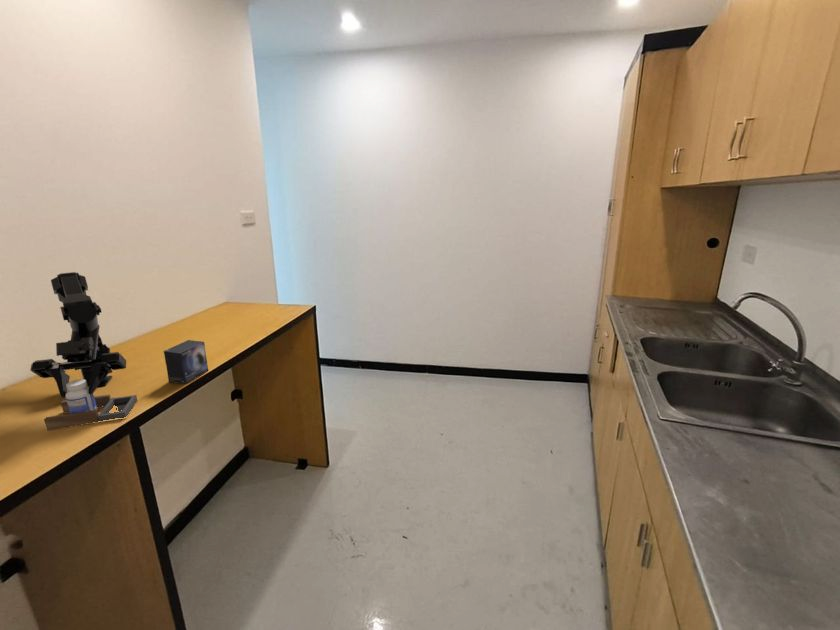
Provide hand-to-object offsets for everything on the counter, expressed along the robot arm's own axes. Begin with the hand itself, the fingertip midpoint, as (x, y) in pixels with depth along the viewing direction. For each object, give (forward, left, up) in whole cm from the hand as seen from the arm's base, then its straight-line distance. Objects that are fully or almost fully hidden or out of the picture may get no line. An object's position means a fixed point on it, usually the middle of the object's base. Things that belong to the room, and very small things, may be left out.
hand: (76, 395), depth 102 cm
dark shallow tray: (-1, +8, -7) cm, 10 cm away
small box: (-19, +21, -7) cm, 30 cm away
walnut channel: (-1, -1, -7) cm, 7 cm away
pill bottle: (-1, 0, -7) cm, 7 cm away
